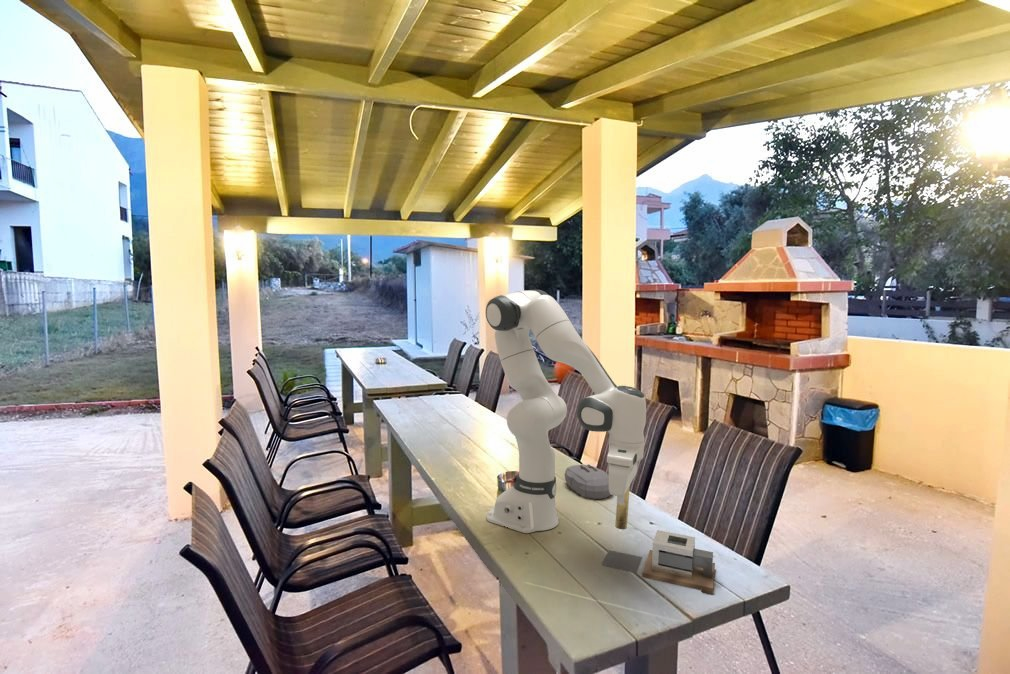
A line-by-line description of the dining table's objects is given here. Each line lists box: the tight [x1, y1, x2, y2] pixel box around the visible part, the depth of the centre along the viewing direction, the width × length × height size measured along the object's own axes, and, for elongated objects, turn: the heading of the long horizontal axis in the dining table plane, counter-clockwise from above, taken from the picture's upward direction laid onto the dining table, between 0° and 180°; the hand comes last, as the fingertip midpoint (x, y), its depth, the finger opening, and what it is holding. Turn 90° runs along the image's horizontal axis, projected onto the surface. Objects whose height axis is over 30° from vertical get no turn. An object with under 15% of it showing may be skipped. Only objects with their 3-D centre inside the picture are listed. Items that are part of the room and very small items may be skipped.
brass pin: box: [614, 485, 631, 530], centre depth 137 cm, size 3×3×16 cm
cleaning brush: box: [564, 464, 611, 500], centre depth 189 cm, size 15×8×20 cm
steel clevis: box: [652, 529, 714, 578], centre depth 133 cm, size 14×8×7 cm, turn 66°
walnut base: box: [641, 549, 716, 595], centre depth 133 cm, size 16×13×2 cm
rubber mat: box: [601, 549, 643, 574], centre depth 138 cm, size 9×9×1 cm
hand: (622, 500), depth 137 cm, fingers closed on brass pin, 3 cm apart
